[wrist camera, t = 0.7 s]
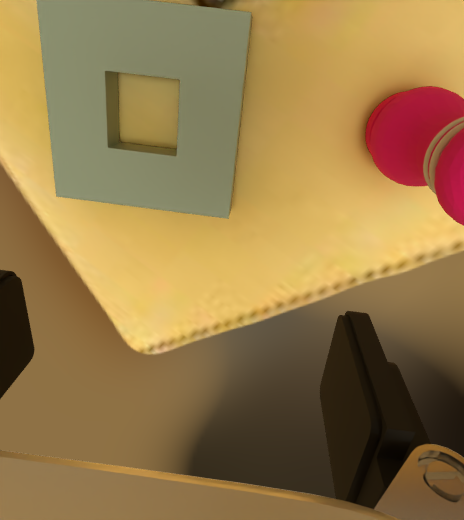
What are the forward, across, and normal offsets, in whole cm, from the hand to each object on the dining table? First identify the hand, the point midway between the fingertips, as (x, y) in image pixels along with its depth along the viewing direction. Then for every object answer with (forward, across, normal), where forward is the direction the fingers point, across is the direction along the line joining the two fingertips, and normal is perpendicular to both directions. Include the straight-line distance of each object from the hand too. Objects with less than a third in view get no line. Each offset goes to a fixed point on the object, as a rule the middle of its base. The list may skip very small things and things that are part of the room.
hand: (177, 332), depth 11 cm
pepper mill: (+27, -14, -3) cm, 31 cm away
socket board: (+27, +8, -3) cm, 28 cm away
